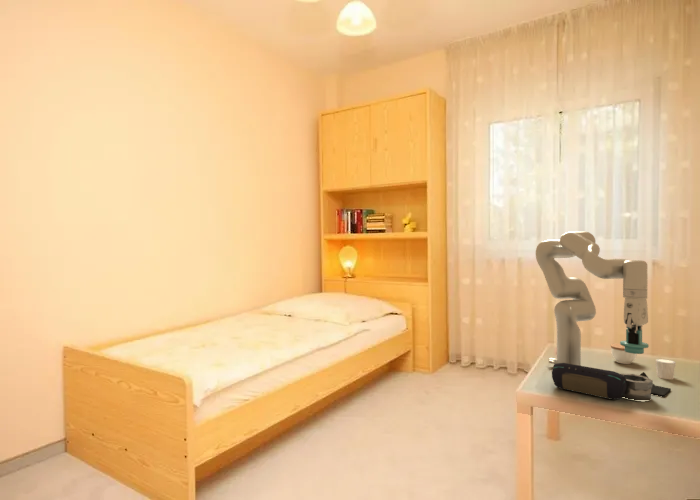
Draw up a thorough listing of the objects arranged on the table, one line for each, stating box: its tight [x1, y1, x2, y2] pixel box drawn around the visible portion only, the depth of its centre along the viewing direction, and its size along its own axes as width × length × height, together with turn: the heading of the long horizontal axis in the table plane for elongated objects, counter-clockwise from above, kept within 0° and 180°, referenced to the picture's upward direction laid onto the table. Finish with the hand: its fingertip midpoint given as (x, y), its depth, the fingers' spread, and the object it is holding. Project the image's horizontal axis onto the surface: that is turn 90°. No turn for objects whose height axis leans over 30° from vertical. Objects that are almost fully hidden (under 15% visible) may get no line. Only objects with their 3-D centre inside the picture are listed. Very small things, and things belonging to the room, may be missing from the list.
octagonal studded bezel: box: [621, 373, 654, 400], centre depth 160 cm, size 10×10×7 cm
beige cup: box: [655, 358, 676, 380], centre depth 183 cm, size 7×7×7 cm
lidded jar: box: [610, 343, 638, 365], centre depth 205 cm, size 11×11×9 cm
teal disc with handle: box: [619, 328, 650, 355], centre depth 160 cm, size 9×9×8 cm
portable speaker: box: [551, 363, 627, 400], centre depth 164 cm, size 25×10×10 cm, turn 48°
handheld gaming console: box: [639, 371, 671, 398], centre depth 166 cm, size 12×7×10 cm
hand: (635, 343), depth 159 cm, fingers closed on teal disc with handle
